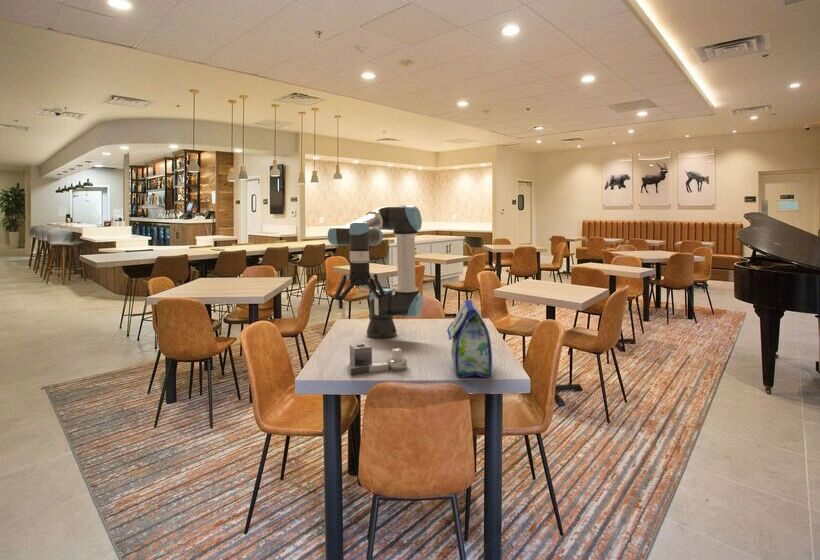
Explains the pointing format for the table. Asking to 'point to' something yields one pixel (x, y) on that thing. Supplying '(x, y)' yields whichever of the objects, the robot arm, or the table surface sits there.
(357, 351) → the grey square block
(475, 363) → the lunch bag
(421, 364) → the table surface
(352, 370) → the chrome ball-end bar
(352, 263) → the robot arm
